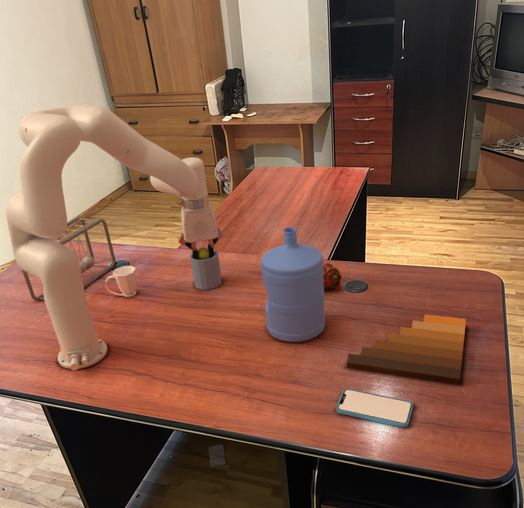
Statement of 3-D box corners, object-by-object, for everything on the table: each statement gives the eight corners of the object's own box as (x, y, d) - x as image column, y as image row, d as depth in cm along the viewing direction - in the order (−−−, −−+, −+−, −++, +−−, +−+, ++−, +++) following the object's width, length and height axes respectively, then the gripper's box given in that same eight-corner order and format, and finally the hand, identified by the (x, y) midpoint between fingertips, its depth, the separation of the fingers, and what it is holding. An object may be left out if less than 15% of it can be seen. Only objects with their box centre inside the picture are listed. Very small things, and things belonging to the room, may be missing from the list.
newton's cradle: (58, 307, 167) (40, 254, 157) (32, 303, 171) (14, 251, 161) (117, 265, 189) (105, 216, 180) (93, 261, 193) (80, 214, 184)
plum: (211, 261, 166) (210, 249, 164) (198, 263, 166) (197, 251, 164) (209, 256, 170) (207, 244, 168) (196, 258, 169) (195, 246, 167)
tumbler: (224, 286, 169) (220, 257, 164) (196, 291, 168) (192, 262, 163) (219, 274, 176) (215, 246, 171) (192, 279, 175) (188, 251, 170)
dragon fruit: (343, 296, 161) (306, 296, 167) (348, 270, 164) (311, 271, 169) (335, 283, 154) (296, 283, 160) (339, 256, 157) (301, 258, 162)
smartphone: (407, 425, 110) (335, 409, 115) (407, 429, 111) (335, 413, 116) (413, 401, 116) (344, 387, 121) (413, 406, 116) (344, 391, 122)
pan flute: (347, 369, 128) (458, 386, 120) (346, 358, 127) (460, 374, 118) (367, 315, 148) (464, 326, 140) (367, 304, 146) (466, 315, 138)
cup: (142, 296, 168) (137, 272, 164) (109, 303, 166) (103, 279, 162) (139, 286, 174) (134, 263, 170) (107, 293, 172) (101, 270, 168)
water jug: (337, 324, 146) (335, 225, 131) (298, 351, 137) (292, 248, 122) (293, 306, 155) (288, 213, 141) (254, 330, 146) (244, 233, 132)
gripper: (168, 210, 154) (179, 269, 163) (226, 201, 156) (233, 259, 166) (165, 202, 160) (176, 259, 169) (221, 193, 163) (228, 250, 172)
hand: (204, 258), depth 168 cm, fingers closed on plum, 3 cm apart
